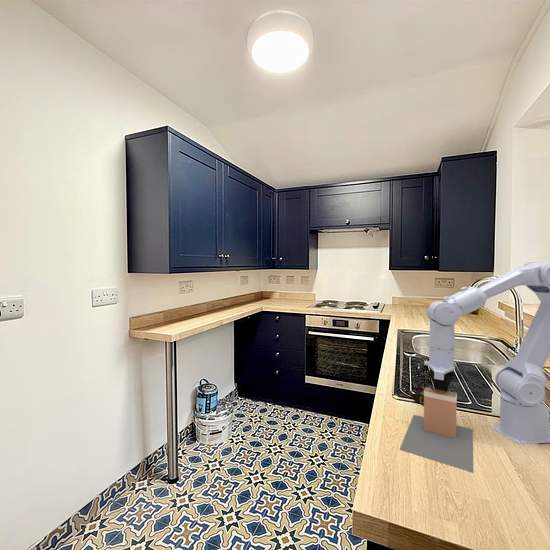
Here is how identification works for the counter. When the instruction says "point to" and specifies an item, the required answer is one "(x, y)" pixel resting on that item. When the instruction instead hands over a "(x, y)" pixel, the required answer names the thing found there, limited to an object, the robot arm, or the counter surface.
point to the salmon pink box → (440, 412)
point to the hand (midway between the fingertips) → (441, 399)
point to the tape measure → (419, 397)
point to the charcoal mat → (440, 445)
